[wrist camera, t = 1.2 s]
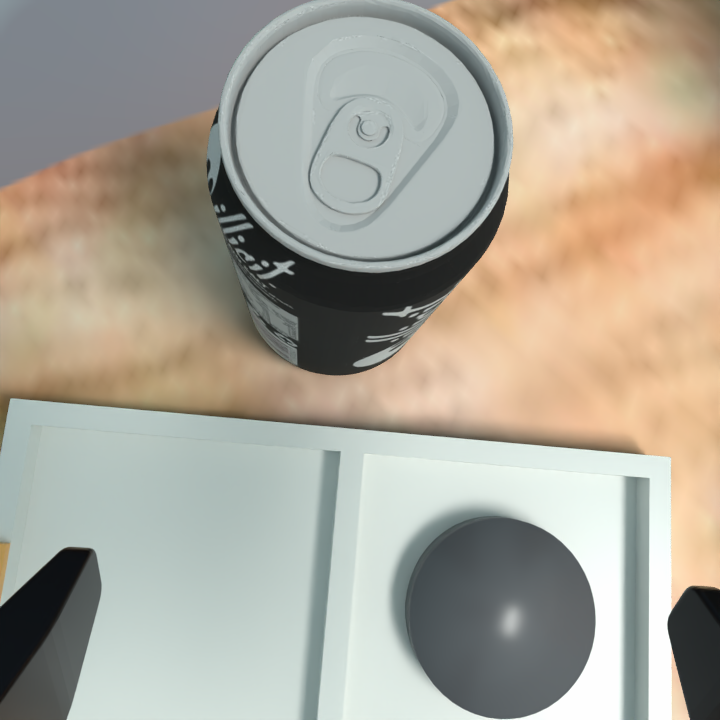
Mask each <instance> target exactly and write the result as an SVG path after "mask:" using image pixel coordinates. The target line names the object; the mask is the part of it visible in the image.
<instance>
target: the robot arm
mask: <svg viewBox="0 0 720 720" xmlns="http://www.w3.org/2000/svg"><path fill="white" fill-rule="evenodd" d="M101 590H102V582H101V577H100V571H99V565H98V560H97V555H96V552H95V550H94V549H92V548H85V547H66V548H64V549H62V550H60V551H59V552H58V553H57V554H56V555H55V556H54V557H53V558H52V559H51V560H50V561H49V562H47V563H46V564H45V565H44V566H43V567H42V568H41V569H40V570H39V571H38V572H37V573H36V574H35V575H34V576H33V577H31V578H30V579H29V580H28V581H27V582H26V583H25V584H24V585H23V586H22V587H21V588H20V589H19V590H18V591H16V592H15V593H14V594H13V595H12V596H11V597H10V598H9V599H8V600H7V601H6V602H5V603H4V604H3V605H2V606H0V720H67V717H68V714H69V711H70V709H71V706H72V702H73V699H74V695H75V692H76V688H77V684H78V681H79V677H80V673H81V669H82V666H83V662H84V658H85V654H86V650H87V647H88V643H89V639H90V635H91V632H92V628H93V624H94V620H95V617H96V613H97V609H98V605H99V602H100V597H101ZM667 629H668V635H669V639H670V643H671V647H672V650H673V654H674V658H675V662H676V666H677V670H678V674H679V678H680V682H681V686H682V690H683V694H684V698H685V702H686V706H687V710H688V714H689V717H690V720H720V590H719V589H717V588H715V587H707V586H690V587H688V588H687V589H686V590H685V591H684V593H683V594H682V596H681V597H680V599H679V600H678V602H677V604H676V605H675V607H674V608H673V610H672V611H671V613H670V614H669V617H668V621H667Z"/></svg>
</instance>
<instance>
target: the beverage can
mask: <svg viewBox="0 0 720 720" xmlns="http://www.w3.org/2000/svg"><path fill="white" fill-rule="evenodd" d="M512 150H513V130H512V120H511V115H510V110H509V106H508V102H507V99H506V95H505V93H504V90H503V88H502V85H501V83H500V81H499V79H498V77H497V76H496V74H495V72H494V70H493V69H492V67H491V65H490V63H489V62H488V61H487V59H486V58H485V57H484V55H483V54H482V53H481V52H480V50H479V49H478V48H477V47H476V45H475V44H474V43H473V42H472V41H471V40H470V39H469V38H467V37H466V36H465V35H464V34H463V33H462V32H461V31H460V30H458V29H457V28H456V27H454V26H453V25H452V24H450V23H449V22H448V21H446V20H444V19H443V18H441V17H440V16H438V15H436V14H434V13H432V12H430V11H428V10H426V9H424V8H422V7H420V6H417V5H415V4H412V3H409V2H405V1H402V0H313V1H310V2H308V3H305V4H302V5H299V6H297V7H295V8H293V9H291V10H288V11H286V12H285V13H283V14H281V15H280V16H278V17H277V18H275V19H273V20H272V21H270V22H269V23H268V24H267V25H266V26H265V27H263V28H262V29H261V30H260V31H259V32H258V33H256V34H255V36H254V37H253V38H252V39H251V40H250V41H249V43H248V44H247V45H246V46H245V47H244V48H243V50H242V51H241V53H240V54H239V56H238V57H237V59H236V60H235V62H234V64H233V66H232V68H231V70H230V72H229V74H228V76H227V79H226V82H225V85H224V88H223V91H222V95H221V100H220V105H219V108H218V110H217V112H216V115H215V118H214V121H213V124H212V127H211V131H210V136H209V142H208V149H207V178H208V186H209V191H210V195H211V199H212V203H213V206H214V209H215V212H216V215H217V218H218V221H219V224H220V226H221V229H222V232H223V235H224V238H225V241H226V244H227V247H228V250H229V253H230V256H231V259H232V262H233V265H234V267H235V270H236V273H237V276H238V279H239V282H240V285H241V288H242V291H243V294H244V297H245V300H246V303H247V305H248V308H249V311H250V314H251V317H252V320H253V322H254V324H255V326H256V328H257V330H258V331H259V333H260V335H261V336H262V338H263V339H264V340H265V341H266V343H267V344H268V345H269V346H270V347H271V348H272V349H273V350H274V351H275V352H276V353H277V354H279V355H280V356H281V357H282V358H284V359H285V360H287V361H288V362H290V363H292V364H294V365H296V366H298V367H300V368H302V369H305V370H308V371H311V372H315V373H319V374H325V375H349V374H355V373H360V372H363V371H366V370H369V369H372V368H374V367H376V366H378V365H380V364H382V363H383V362H385V361H387V360H388V359H390V358H391V357H392V356H393V355H395V354H396V353H397V352H398V351H399V350H400V349H401V348H402V347H403V346H404V345H405V344H406V342H407V341H408V340H409V339H410V338H411V337H412V336H413V335H414V333H415V332H416V331H417V330H418V329H419V328H420V327H421V325H422V324H423V323H424V322H425V321H426V320H427V319H428V317H429V316H430V315H431V314H432V313H433V312H434V311H435V310H436V308H437V307H438V306H439V305H440V304H441V303H442V302H443V300H444V299H445V298H446V297H447V296H448V295H449V294H450V293H451V291H452V290H453V289H454V288H455V287H456V286H457V285H458V283H459V282H460V281H461V280H462V279H463V278H464V277H465V275H466V274H467V273H468V272H469V271H470V270H471V269H472V268H473V266H474V265H475V264H476V263H477V262H478V260H479V259H480V258H481V257H482V255H483V254H484V253H485V251H486V250H487V248H488V247H489V245H490V243H491V242H492V240H493V238H494V236H495V234H496V232H497V230H498V228H499V225H500V222H501V220H502V217H503V214H504V210H505V206H506V201H507V197H508V183H509V168H510V163H511V159H512Z"/></svg>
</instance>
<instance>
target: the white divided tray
mask: <svg viewBox="0 0 720 720" xmlns="http://www.w3.org/2000/svg"><path fill="white" fill-rule="evenodd" d="M66 547H85V548H92V549H94V550H95V552H96V555H97V560H98V565H99V571H100V577H101V582H102V590H101V597H100V602H99V605H98V609H97V613H96V617H95V620H94V624H93V628H92V632H91V635H90V639H89V643H88V647H87V650H86V654H85V658H84V662H83V666H82V669H81V673H80V677H79V681H78V684H77V688H76V692H75V695H74V699H73V702H72V706H71V709H70V711H69V714H68V717H67V720H671V643H670V639H669V635H668V629H667V621H668V617H669V614H670V613H671V457H662V456H651V455H639V454H628V453H617V452H606V451H595V450H584V449H572V448H561V447H550V446H539V445H528V444H517V443H505V442H494V441H483V440H472V439H461V438H449V437H438V436H427V435H416V434H405V433H394V432H382V431H371V430H360V429H349V428H338V427H327V426H315V425H304V424H293V423H282V422H271V421H259V420H248V419H237V418H226V417H215V416H204V415H192V414H181V413H170V412H159V411H148V410H136V409H125V408H114V407H103V406H92V405H81V404H69V403H58V402H47V401H36V400H25V399H14V398H10V403H9V409H8V414H7V420H6V425H5V431H4V436H3V442H2V447H1V453H0V606H2V605H3V604H4V603H5V602H6V601H7V600H8V599H9V598H10V597H11V596H12V595H13V594H14V593H15V592H16V591H18V590H19V589H20V588H21V587H22V586H23V585H24V584H25V583H26V582H27V581H28V580H29V579H30V578H31V577H33V576H34V575H35V574H36V573H37V572H38V571H39V570H40V569H41V568H42V567H43V566H44V565H45V564H46V563H47V562H49V561H50V560H51V559H52V558H53V557H54V556H55V555H56V554H57V553H58V552H59V551H60V550H62V549H64V548H66Z"/></svg>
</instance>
